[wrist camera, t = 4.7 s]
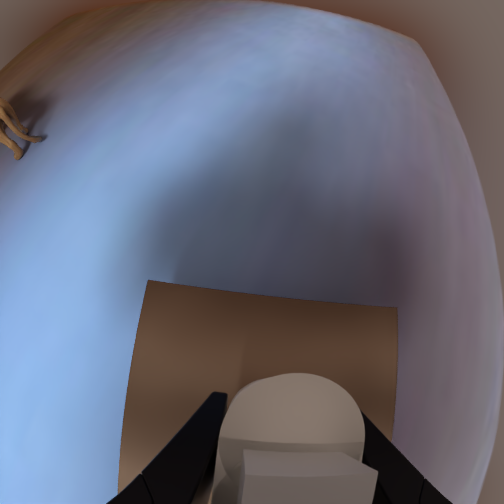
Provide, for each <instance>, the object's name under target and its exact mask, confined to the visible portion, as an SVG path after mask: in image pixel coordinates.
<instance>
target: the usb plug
mask: <svg viewBox="0 0 504 504" xmlns="http://www.w3.org/2000/svg"><path fill="white" fill-rule="evenodd" d="M364 442H365V427H364V421H363V417H362V414H361V412H360V409H359V407H358V405H357V404H356V402H355V401H354V399H353V398H352V397H351V395H350V394H349V393H348V392H347V391H346V390H345V389H343V388H342V387H341V386H339V385H338V384H336V383H335V382H333V381H331V380H329V379H326V378H324V377H321V376H318V375H314V374H307V373H289V374H282V375H278V376H273V377H269V378H265V379H260V380H256V381H253V382H251V383H249V384H247V385H246V386H244V387H243V388H242V389H241V390H239V391H238V393H237V394H236V395H235V396H234V398H233V400H232V401H231V403H230V406H229V408H228V411H227V413H226V415H225V418H224V420H223V423H222V426H221V429H220V434H219V441H218V449H217V457H216V465H215V474H214V482H213V490H212V499H211V504H372V501H373V496H374V491H375V486H376V481H377V476H378V471H376V470H374V469H372V468H370V467H368V466H367V465H365V464H363V463H362V456H363V449H364Z"/></svg>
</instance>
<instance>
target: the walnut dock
mask: <svg viewBox="0 0 504 504" xmlns="http://www.w3.org/2000/svg"><path fill="white" fill-rule="evenodd" d="M397 362H398V314H397V308H394V307H380V306H367V305H355V304H343V303H332V302H321V301H311V300H301V299H291V298H282V297H273V296H264V295H255V294H247V293H239V292H231V291H223V290H216V289H208V288H201V287H194V286H186V285H179V284H173V283H166V282H159V281H153V280H148V282H147V286H146V291H145V295H144V300H143V304H142V309H141V314H140V318H139V323H138V328H137V334H136V339H135V344H134V350H133V356H132V361H131V367H130V374H129V380H128V387H127V394H126V402H125V409H124V418H123V427H122V437H121V448H120V460H119V476H118V494H119V493H120V492H121V491H122V490H123V489H124V488H125V487H126V486H127V485H128V484H129V483H131V482H132V480H133V479H134V478H135V477H136V476H137V475H138V474H142V473H141V471H142V470H143V469H144V468H145V467H146V466H147V465H148V464H149V463H150V462H151V461H152V460H153V459H154V457H155V456H156V455H157V454H158V453H159V452H160V451H161V450H162V449H163V448H164V447H165V445H166V444H167V443H168V442H169V441H170V440H171V439H172V438H173V437H174V436H175V434H176V433H177V432H178V431H179V430H180V429H181V428H182V427H183V425H184V424H185V423H186V422H187V421H188V420H189V419H190V417H191V416H192V415H193V414H194V413H195V412H196V410H197V409H198V408H199V407H200V406H201V405H202V403H203V402H204V401H205V400H206V399H207V398H208V396H209V395H210V394H211V393H212V392H214V391H217V392H224V393H227V394H228V402H227V411H228V408H229V406H230V403H231V401H232V400H233V398H234V396H235V395H236V394H237V393H238V391H239V390H241V389H242V388H243V387H244V386H246V385H247V384H249V383H251V382H253V381H256V380H260V379H265V378H269V377H273V376H278V375H282V374H289V373H307V374H314V375H318V376H321V377H324V378H326V379H329V380H331V381H333V382H335V383H336V384H338V385H339V386H341V387H342V388H343V389H345V390H346V391H347V392H348V393H349V394H350V395H351V397H352V398H353V399H354V401H355V402H356V404H357V405H358V407H359V408H360V409H361V411H362V412H363V413H364V414H365V415H366V416H367V417H368V418H369V419H370V420H371V421H372V422H373V424H374V425H375V426H376V427H377V428H378V429H379V430H380V431H381V432H382V433H383V434H384V435H385V436H386V437H387V439H388V440H389V441H390V442H391V440H392V432H393V423H394V413H395V401H396V386H397ZM212 490H213V488H212ZM211 499H212V491H211V494H210V498H209V501H208V504H211Z"/></svg>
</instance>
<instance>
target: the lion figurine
mask: <svg viewBox="0 0 504 504" xmlns="http://www.w3.org/2000/svg"><path fill="white" fill-rule="evenodd" d="M2 121H4V122H5V123H6V124H7V126H8V127H9V128H10V129H11V130H12V131H13V132H14V133H15V134H16V135H18V136H19V137H21V138H22V139H24V140H28V141H30V142H33V143H37V142H40V141H41V139H42V138H41V137H39V136H29V135H26V134H27V133H28V129H27V128H24V127H23V125H21V124H20V122H19V120H18V118H17V116H16V114H15V112H14V110H13V108H12V107H11V105H10V104H9V103H8V102H7V101H6V100H4V99H2V98H1V97H0V142H1V143H3V144H5V145H6V146H8V147H9V148H10V149H12V150H13V151H14V158H15V159H16V160H19V159H20V158H21V157H22V155H23V150H22V149H21V148H20V147H19V146H18V145H17V143H16V142H15V141H13V140H11V139H10V138H9V137H8V136H7V135H6V133H5V131H4V128H3V123H2Z"/></svg>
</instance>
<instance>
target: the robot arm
mask: <svg viewBox="0 0 504 504" xmlns="http://www.w3.org/2000/svg"><path fill="white" fill-rule="evenodd" d="M227 402H228V394H227V393H224V392H217V391H214V392H212V393H211V394H210V395H209V396H208V398H207V399H206V400H205V401H204V402H203V403H202V405H201V406H200V407H199V408H198V409H197V410H196V412H195V413H194V414H193V415H192V416H191V417H190V419H189V420H188V421H187V422H186V423H185V424H184V425H183V427H182V428H181V429H180V430H179V431H178V432H177V433H176V434H175V436H174V437H173V438H172V439H171V440H170V441H169V442H168V443H167V444H166V445H165V447H164V448H163V449H162V450H161V451H160V452H159V453H158V454H157V455H156V456H155V457H154V459H153V460H152V461H151V462H150V463H149V464H148V465H147V466H146V467H145V468H144V469H143V470H142V471H141V473H142V474H138V475H137V476H136V477H135V478H134V479H133V480H132V482H131V483H129V484H128V485H127V486H126V487H125V488H124V489H123V490H122V491H121V492H120V493H119V494H118V495H117V496H115V497H114V498H113V499H111V500H110V501H109V502H108V503H106V504H208V501H209V498H210V494H211V491H212V488H213V482H214V474H215V465H216V457H217V449H218V441H219V434H220V429H221V426H222V423H223V420H224V418H225V415H226V413H227ZM359 409H360V408H359ZM360 412H361V414H362V417H363V421H364V427H365V442H364V449H363V456H362V463H363V464H365V465H367V466H368V467H370V468H372V469H374V470H376V471H378V476H377V481H376V486H375V491H374V496H373V501H372V504H453V503H451V502H450V501H449V500H448V499H447V498H445V497H444V496H443V495H442V494H441V493H440V492H439V491H438V490H437V489H436V488H435V487H434V486H433V485H432V484H431V483H430V482H429V481H428V480H427V479H424V476H423V475H422V474H421V473H420V472H419V471H418V470H417V469H416V468H415V467H414V466H413V465H412V464H411V463H410V462H409V461H408V460H407V459H406V458H405V456H404V455H403V454H402V453H401V452H400V451H399V450H398V449H397V448H396V447H395V446H394V445H393V444H392V443H391V442H390V441H389V440H388V439H387V437H386V436H385V435H384V434H383V433H382V432H381V431H380V430H379V429H378V428H377V427H376V426H375V425H374V424H373V422H372V421H371V420H370V419H369V418H368V417H367V416H366V415H365V414H364V413H363V412H362V411H361V409H360Z"/></svg>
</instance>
